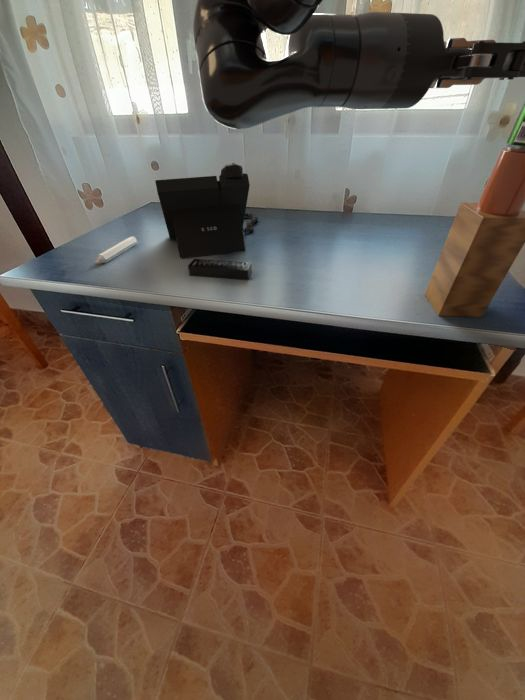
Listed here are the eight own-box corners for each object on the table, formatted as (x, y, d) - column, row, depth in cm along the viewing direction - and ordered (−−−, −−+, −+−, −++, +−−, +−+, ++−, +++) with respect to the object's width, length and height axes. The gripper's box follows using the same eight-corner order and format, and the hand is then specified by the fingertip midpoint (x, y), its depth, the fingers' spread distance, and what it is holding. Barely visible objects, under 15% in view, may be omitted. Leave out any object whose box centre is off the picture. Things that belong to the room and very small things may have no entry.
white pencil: (96, 270, 74) (134, 245, 86) (100, 267, 73) (138, 242, 85) (88, 261, 73) (128, 237, 84) (92, 258, 72) (132, 234, 83)
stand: (463, 295, 62) (509, 203, 50) (481, 317, 56) (539, 218, 44) (424, 294, 63) (460, 202, 51) (438, 315, 57) (483, 217, 45)
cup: (506, 204, 50) (535, 147, 44) (528, 216, 45) (562, 153, 40) (469, 204, 50) (493, 147, 45) (487, 215, 46) (515, 153, 40)
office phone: (255, 216, 103) (253, 146, 90) (279, 247, 82) (282, 162, 69) (168, 224, 97) (153, 151, 84) (172, 259, 77) (152, 170, 64)
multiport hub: (248, 279, 68) (247, 270, 67) (188, 275, 70) (187, 266, 69) (252, 271, 71) (251, 262, 70) (195, 267, 73) (193, 258, 72)
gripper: (439, -4, 25) (591, 4, 27) (358, 24, 35) (474, 28, 38) (409, 112, 30) (541, 109, 32) (346, 106, 40) (450, 104, 43)
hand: (505, 65), depth 35 cm, fingers open, 8 cm apart
